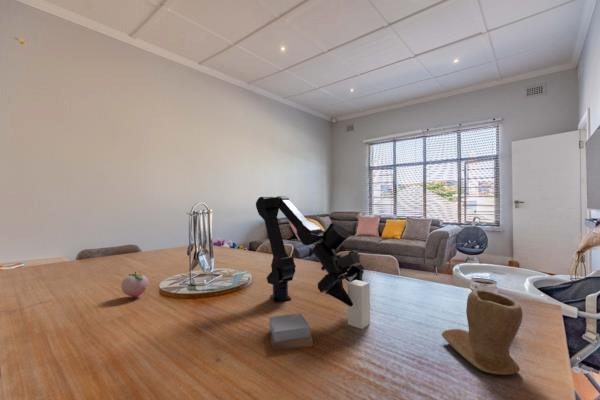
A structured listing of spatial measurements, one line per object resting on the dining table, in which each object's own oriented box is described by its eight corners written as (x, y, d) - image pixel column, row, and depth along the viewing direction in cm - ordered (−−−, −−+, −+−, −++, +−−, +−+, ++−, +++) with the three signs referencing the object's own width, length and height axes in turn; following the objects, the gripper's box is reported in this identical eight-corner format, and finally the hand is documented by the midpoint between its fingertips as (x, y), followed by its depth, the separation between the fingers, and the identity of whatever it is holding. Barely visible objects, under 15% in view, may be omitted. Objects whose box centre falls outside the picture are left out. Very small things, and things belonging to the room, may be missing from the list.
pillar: (348, 324, 80) (347, 283, 80) (356, 319, 83) (355, 279, 84) (362, 329, 77) (361, 286, 77) (370, 323, 80) (369, 282, 80)
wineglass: (490, 329, 76) (489, 285, 76) (465, 320, 82) (464, 279, 82) (503, 323, 79) (502, 282, 79) (479, 315, 85) (478, 276, 85)
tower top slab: (269, 326, 76) (269, 317, 76) (301, 322, 78) (300, 313, 78) (274, 342, 67) (274, 331, 67) (310, 336, 69) (310, 326, 69)
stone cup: (539, 379, 54) (537, 303, 54) (479, 380, 54) (478, 304, 54) (487, 341, 69) (485, 281, 70) (440, 341, 69) (439, 282, 70)
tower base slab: (270, 333, 76) (270, 324, 77) (305, 330, 78) (305, 321, 78) (272, 352, 67) (272, 342, 67) (312, 348, 68) (312, 338, 68)
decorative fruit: (115, 300, 103) (115, 273, 104) (136, 293, 111) (135, 268, 111) (133, 303, 100) (132, 275, 100) (152, 296, 108) (152, 270, 108)
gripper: (325, 246, 77) (360, 294, 69) (358, 239, 91) (391, 278, 83) (304, 270, 82) (335, 317, 75) (339, 259, 96) (368, 298, 88)
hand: (359, 301), depth 80 cm, fingers open, 8 cm apart
